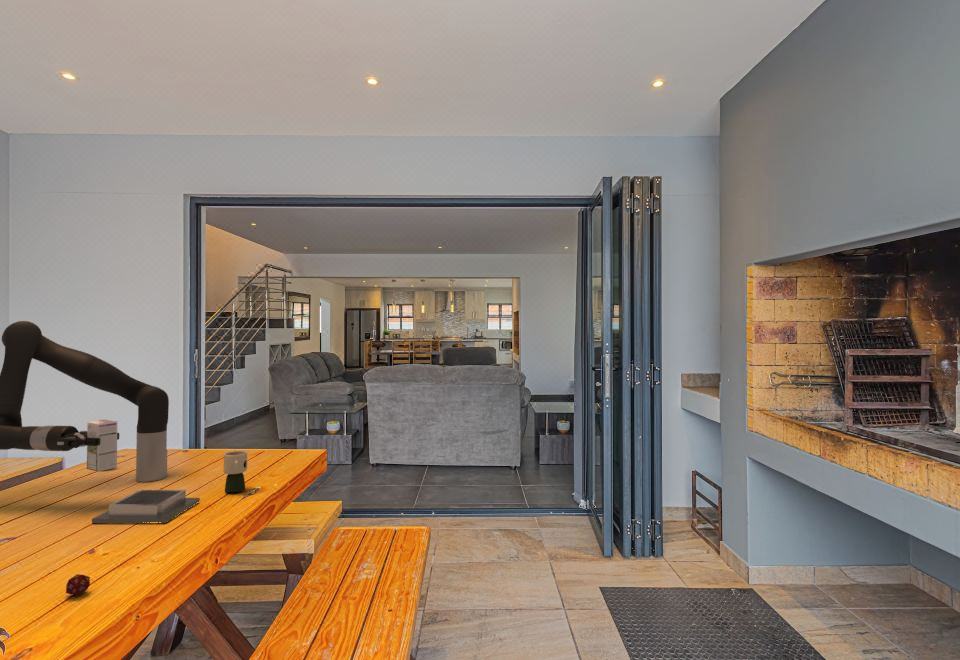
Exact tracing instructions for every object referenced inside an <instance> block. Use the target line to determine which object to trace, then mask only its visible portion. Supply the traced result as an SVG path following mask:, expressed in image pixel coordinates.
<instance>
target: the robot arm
mask: <svg viewBox="0 0 960 660" xmlns="http://www.w3.org/2000/svg"><path fill="white" fill-rule="evenodd" d="M42 333H43V332H42V330H41V327H39V326H38V325H37V324H35V323H34V322H31V321H27V320H19V321H16V322H12V323H10V324H9V325H8V326H6V327H5V329H4V331H3V332H2V335H1V342H2V344H3V346H4V357H3V358H4V359H3V364H2V368H1V371H0V450H11V449H14V450H27V451H28V450H29V451H44V452H68V451H72V450H73V449H77V448H83V447H84V448H85V447H87V446H98V445H100V438H87V430H80V431H79V430H78V429H77V427H75V426H72V425H43V426H39V425H36V426H35V425H34V426H33V425H30V426H29V425H28V426H23V420H22V414H21V412H22V408H23V403H24V398H25V393H26V388H27V382H28V375H29V371H30V367H31V364H32V360H35V361H38V362H41V363H43V364H46V365H47V366H49V367H51V368H53V369H55V370H56V371H58V372H60V373H62V374H64V375H66V376H69V377H70V378H72V379H74V380H76V381H78V382H80V383H82V384H85V385H88V386H89V387H92V388H94V389H97V390H100V391H103V392H107V393H110V394H114V395H117V396H119V397H122V398H123V399H125V400H127V401H128V402H130V403H131V404H134V405H135V406H137V407H138V408H137V410H138V411H137V413H138V414H137V424H136V445H135V446H136V454H135V456H136V457H135V458H136V459H135V481H136V482H140V483H145V482H155V481H159V480H164V479H165V478H166V477H167V475H168V449H167V444H168V443H167V441H168V439H167V438H168V437H167V435H168V430H167V428H168V423H169V406H170V401H169V395H168V393H167V392H166V391H165V390H164V389H162V388H160V387H158V386H155V385H151V384H148V383H146V382H143V381H141V380H137V379H135V378H133V377H131V376H130V375H128V374H126V373H125V372H124V371H122V370H121V369H119V368H117V367H116V366H114V365H113V364H110V362H108V361H105V360H104V359H101V358H99V357H97V356H95V355H92V354H90V353H87V352H85V351H81V350H78V349H76V348H75V349H74V348H71V347H67V346H64V345H62V344H59V343H57V342H55V341H53V340H51V339H50V338H48V337H46V336H44V335H43V334H42ZM118 440H120V433H119V432H117V441H118Z"/></svg>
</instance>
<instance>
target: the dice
mask: <svg viewBox="0 0 960 660" xmlns="http://www.w3.org/2000/svg"><path fill="white" fill-rule="evenodd" d="M90 582H91V577H90V576H88V575H85V574H78V573H77V574H75V575H74V576H73V577H71V578H69V579H68V581H67V583H66V585H65V587H66V588H65V591H66V592H65V593H66V594H68V595H72V594H73V595H72V596H77V597H78V596H79V597H80V596H81V595H82V594H83V593H85V592H86V591H88V588H89V587H90V585H91V583H90Z"/></svg>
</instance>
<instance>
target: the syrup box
mask: <svg viewBox="0 0 960 660" xmlns="http://www.w3.org/2000/svg"><path fill="white" fill-rule="evenodd" d="M86 427H87V430H86V431H87V438H100V445H98V446H86V469H87V470H89V471H90V470H91V471H95V472H103V471H108V470H111V469H117V467H118V440H117V433H118V420H113V419H112V420H111V419H97V420H91V421H87V425H86Z"/></svg>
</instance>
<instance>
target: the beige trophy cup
mask: <svg viewBox="0 0 960 660" xmlns="http://www.w3.org/2000/svg"><path fill="white" fill-rule="evenodd" d="M247 470H248V451H246V450H233V451H226V452H225V453H224V454H223V473H224V474H227V475H226V479H225V483H224V484H225V486H224V492H225V493H234V492H236V493H237V492H239V493H240V492H243V490H244V491H245V490H246V483H245V475H244V473H245V472H247Z"/></svg>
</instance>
